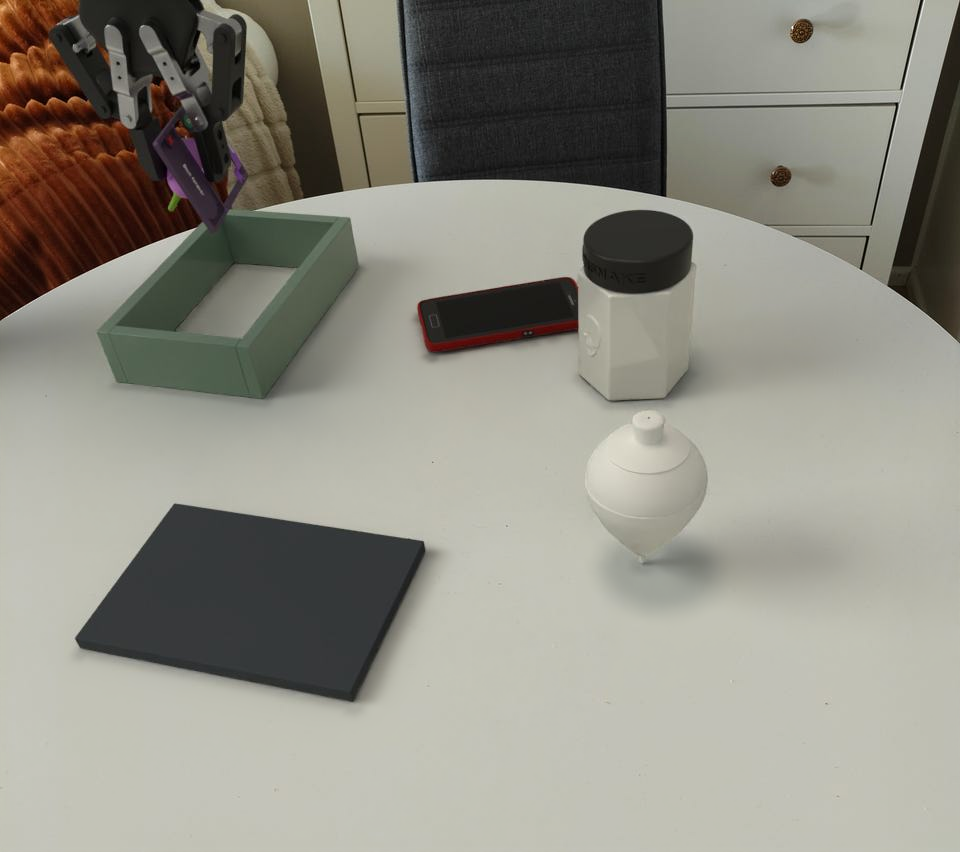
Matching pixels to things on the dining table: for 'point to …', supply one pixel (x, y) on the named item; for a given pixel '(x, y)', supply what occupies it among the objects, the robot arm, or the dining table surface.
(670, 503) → the spinning top
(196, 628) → the mat
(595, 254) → the jar
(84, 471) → the dining table surface
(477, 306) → the cell phone
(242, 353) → the green rectangular tray frame
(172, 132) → the game card
